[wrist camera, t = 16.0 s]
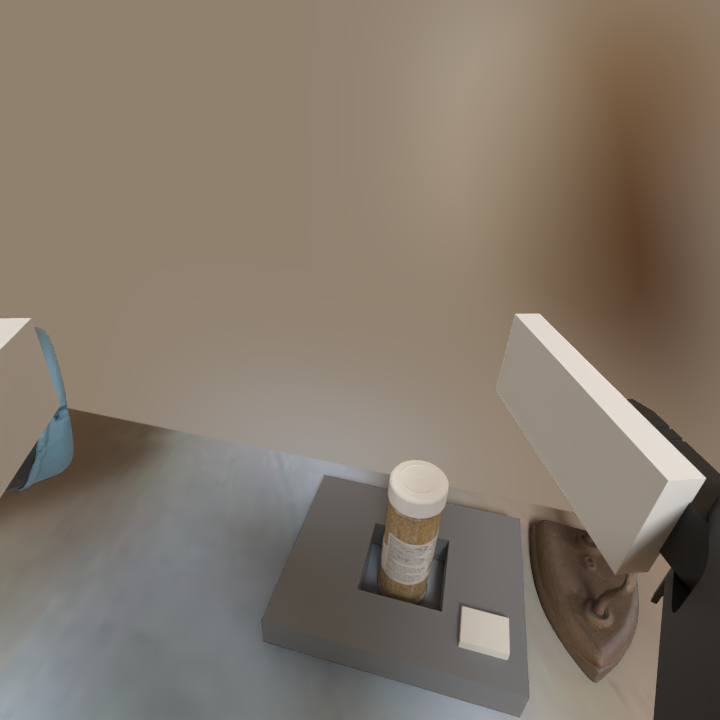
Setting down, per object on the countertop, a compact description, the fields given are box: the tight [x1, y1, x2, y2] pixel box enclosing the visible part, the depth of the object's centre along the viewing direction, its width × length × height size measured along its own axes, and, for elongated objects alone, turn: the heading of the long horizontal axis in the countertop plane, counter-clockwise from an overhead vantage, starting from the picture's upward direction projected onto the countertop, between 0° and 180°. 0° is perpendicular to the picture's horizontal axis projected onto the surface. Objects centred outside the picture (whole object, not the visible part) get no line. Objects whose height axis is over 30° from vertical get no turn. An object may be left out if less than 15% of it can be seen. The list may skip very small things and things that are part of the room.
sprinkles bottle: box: [378, 460, 449, 604], centre depth 39 cm, size 5×5×13 cm
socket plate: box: [261, 475, 529, 717], centre depth 42 cm, size 20×16×4 cm
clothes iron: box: [530, 520, 639, 683], centre depth 40 cm, size 14×10×11 cm
